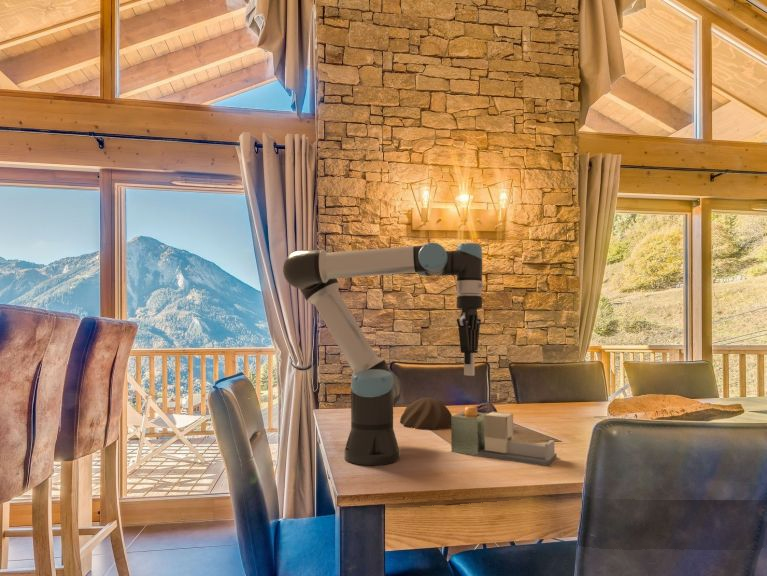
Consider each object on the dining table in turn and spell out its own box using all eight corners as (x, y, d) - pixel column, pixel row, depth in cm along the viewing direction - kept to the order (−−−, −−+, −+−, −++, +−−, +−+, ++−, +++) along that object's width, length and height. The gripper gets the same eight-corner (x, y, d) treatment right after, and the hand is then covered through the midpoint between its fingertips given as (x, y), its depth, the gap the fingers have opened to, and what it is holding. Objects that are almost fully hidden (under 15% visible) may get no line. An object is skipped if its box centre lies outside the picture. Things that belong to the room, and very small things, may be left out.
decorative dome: (461, 422, 187) (461, 395, 188) (441, 432, 170) (441, 402, 170) (414, 417, 196) (414, 391, 197) (391, 426, 179) (390, 398, 180)
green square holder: (477, 455, 140) (477, 419, 140) (451, 451, 144) (451, 416, 145) (490, 447, 148) (490, 413, 149) (465, 444, 152) (465, 411, 153)
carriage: (505, 453, 137) (505, 417, 138) (484, 450, 140) (484, 415, 141) (513, 448, 143) (513, 413, 143) (493, 445, 146) (492, 411, 147)
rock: (465, 433, 173) (494, 436, 168) (463, 409, 172) (491, 411, 167) (476, 422, 183) (503, 424, 178) (474, 399, 182) (501, 401, 177)
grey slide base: (547, 466, 129) (546, 446, 130) (477, 455, 140) (477, 437, 140) (556, 457, 138) (556, 438, 138) (490, 447, 148) (490, 430, 148)
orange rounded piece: (474, 423, 144) (474, 408, 144) (462, 422, 146) (462, 407, 146) (479, 421, 147) (478, 407, 147) (467, 420, 149) (467, 405, 149)
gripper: (472, 294, 142) (472, 378, 140) (489, 296, 153) (489, 374, 151) (448, 294, 146) (448, 376, 144) (466, 296, 157) (466, 372, 155)
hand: (469, 375), depth 148 cm, fingers closed
